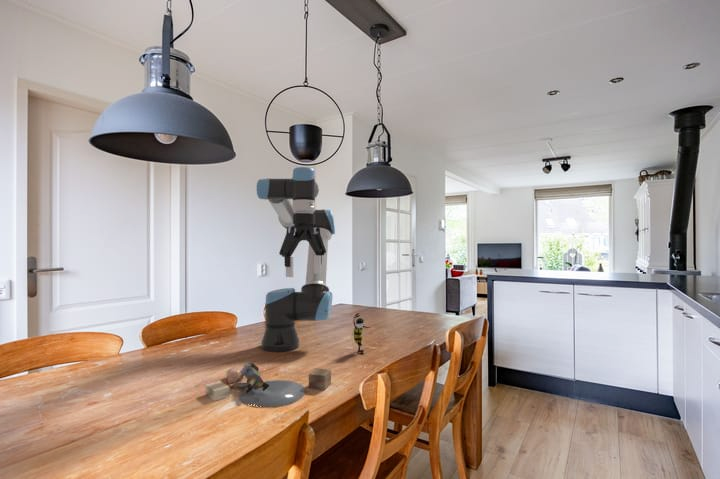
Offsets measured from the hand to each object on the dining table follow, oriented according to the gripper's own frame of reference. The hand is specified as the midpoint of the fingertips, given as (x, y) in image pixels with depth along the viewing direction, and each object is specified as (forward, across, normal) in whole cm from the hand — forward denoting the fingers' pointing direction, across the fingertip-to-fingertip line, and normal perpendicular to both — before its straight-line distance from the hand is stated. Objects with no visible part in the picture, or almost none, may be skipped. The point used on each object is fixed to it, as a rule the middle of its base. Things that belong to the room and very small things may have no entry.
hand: (304, 275), depth 127 cm
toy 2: (+32, +25, -6) cm, 41 cm away
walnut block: (+32, -10, -16) cm, 37 cm away
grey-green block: (+32, -32, +2) cm, 45 cm away
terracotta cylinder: (+30, -23, +7) cm, 38 cm away
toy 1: (+28, -29, -8) cm, 42 cm away
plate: (+32, -22, -9) cm, 40 cm away
